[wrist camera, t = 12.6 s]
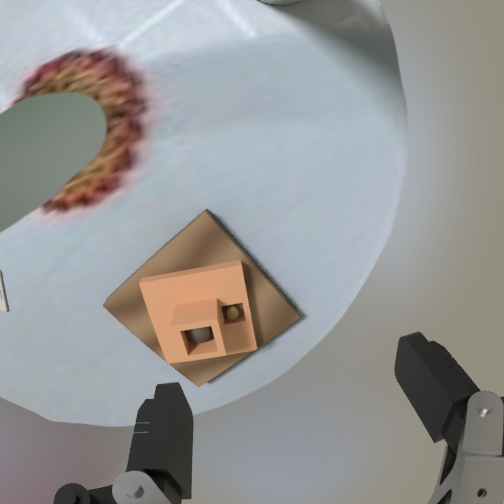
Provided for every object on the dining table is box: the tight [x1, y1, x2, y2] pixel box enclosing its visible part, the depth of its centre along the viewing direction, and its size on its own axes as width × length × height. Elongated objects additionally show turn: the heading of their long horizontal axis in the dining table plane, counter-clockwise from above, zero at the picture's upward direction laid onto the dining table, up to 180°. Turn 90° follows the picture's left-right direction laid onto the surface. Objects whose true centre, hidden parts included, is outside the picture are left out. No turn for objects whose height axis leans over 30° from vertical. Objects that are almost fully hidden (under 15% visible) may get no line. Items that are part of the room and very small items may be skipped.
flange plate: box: [139, 260, 257, 364], centre depth 36 cm, size 12×12×6 cm
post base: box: [103, 209, 300, 387], centre depth 37 cm, size 18×18×6 cm
